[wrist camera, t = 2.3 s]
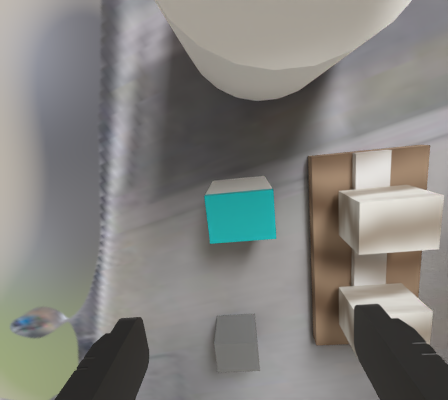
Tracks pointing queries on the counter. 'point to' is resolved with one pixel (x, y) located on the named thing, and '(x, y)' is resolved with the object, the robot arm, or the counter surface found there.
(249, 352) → the grey block
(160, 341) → the counter surface
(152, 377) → the counter surface
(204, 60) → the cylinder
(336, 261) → the board
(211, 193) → the block
